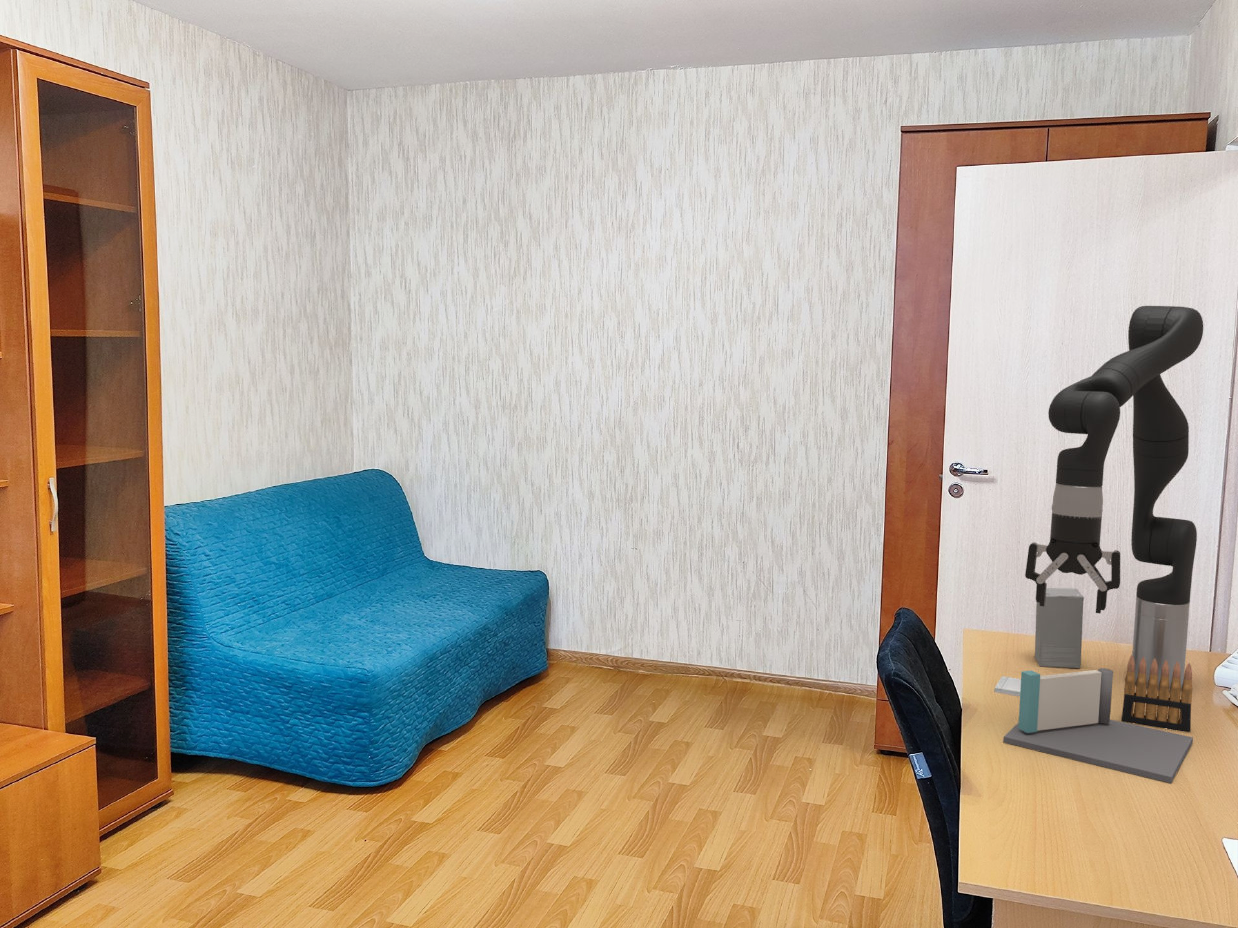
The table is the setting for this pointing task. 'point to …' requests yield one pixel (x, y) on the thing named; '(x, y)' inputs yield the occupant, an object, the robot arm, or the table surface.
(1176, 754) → the mat
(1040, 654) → the skincare box
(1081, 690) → the cream barrier panel
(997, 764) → the table surface
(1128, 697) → the ammunition clip
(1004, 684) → the hard drive
